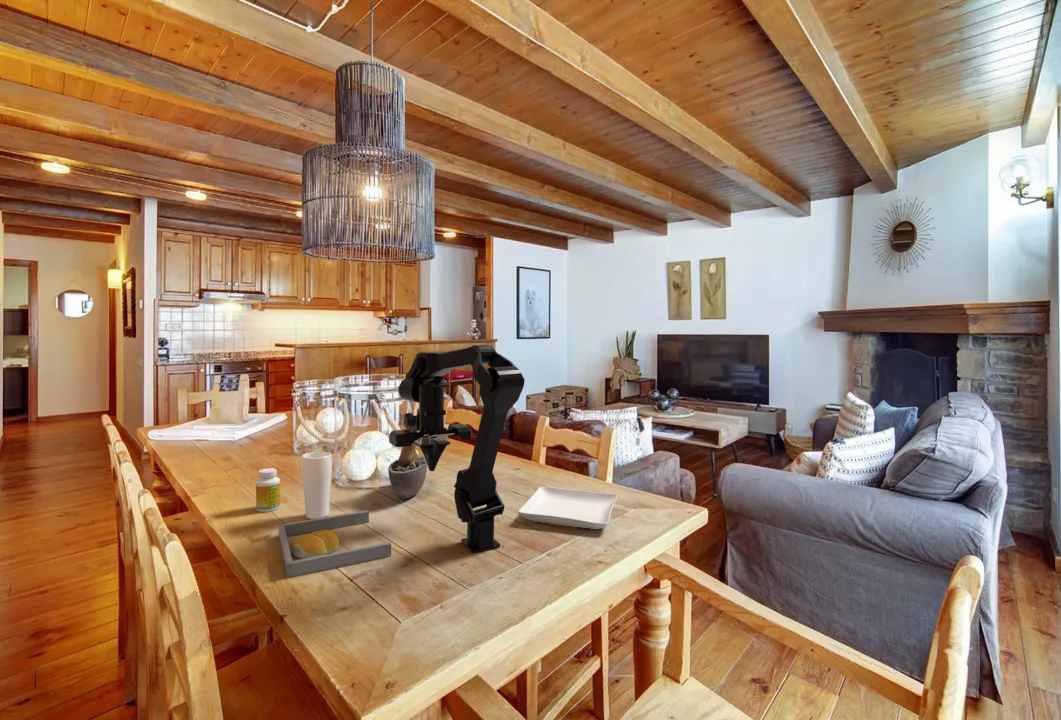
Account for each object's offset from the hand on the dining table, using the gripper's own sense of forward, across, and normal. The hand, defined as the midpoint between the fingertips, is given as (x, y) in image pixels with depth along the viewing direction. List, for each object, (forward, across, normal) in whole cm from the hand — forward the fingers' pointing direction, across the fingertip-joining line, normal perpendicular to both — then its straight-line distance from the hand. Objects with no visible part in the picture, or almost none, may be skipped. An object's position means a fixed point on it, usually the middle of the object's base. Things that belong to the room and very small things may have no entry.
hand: (431, 470), depth 123 cm
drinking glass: (+12, +22, -16) cm, 30 cm away
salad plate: (+13, -31, +14) cm, 36 cm away
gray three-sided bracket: (+12, +22, +3) cm, 26 cm away
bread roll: (+12, +27, +3) cm, 30 cm away
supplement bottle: (+12, +32, -28) cm, 44 cm away
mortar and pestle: (+12, -2, -21) cm, 24 cm away
